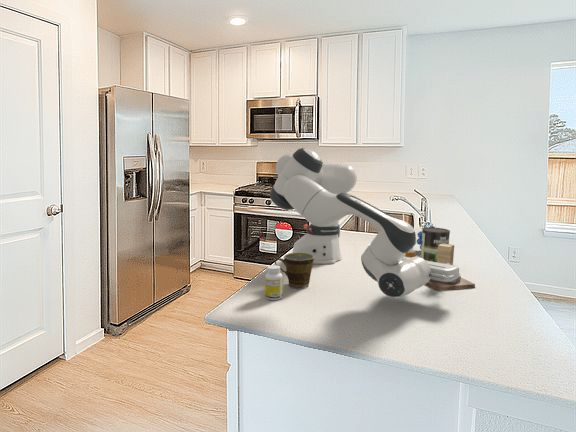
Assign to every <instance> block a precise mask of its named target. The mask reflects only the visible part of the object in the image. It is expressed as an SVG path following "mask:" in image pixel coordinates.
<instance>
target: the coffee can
mask: <svg viewBox="0 0 576 432" xmlns="http://www.w3.org/2000/svg"><path fill="white" fill-rule="evenodd" d="M422 228H423V227H422ZM421 231H422V249H420V251H421V253H420V258H422V259H424V260H426V261H432V262H437V257H438V245H440V244H442V243H444V244H450V233H451V230H450V229H447V228H443V227H442V228H441V227H435V228H429V227H428V228H423V229H421Z"/></svg>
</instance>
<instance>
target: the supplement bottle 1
mask: <svg viewBox="0 0 576 432" xmlns="http://www.w3.org/2000/svg"><path fill="white" fill-rule="evenodd" d="M280 268H281V266H280V265H275V264H274V265H272V264H271V265H268V266H267V268H266V271H267V273H265V275H264V287H265V290H264V296H265V299H266V300H269V301H277V300H278V301H279V300H281V299H283V297H284V296H283V295H284V294H283V293H284V290H283V289H284V285H283V284H284V283H283V282H284V281H283V280H284V278H283V274H282V273H281V269H280Z"/></svg>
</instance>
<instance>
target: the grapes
mask: <svg viewBox="0 0 576 432" xmlns="http://www.w3.org/2000/svg"><path fill="white" fill-rule="evenodd" d="M423 228H436V226H435V225H430V226H423V227H422V229H423ZM422 229H421V231H420V230H419V232H418V233H417V237H418V238H416V244H417V245H419V249H420V250H421V249H422Z"/></svg>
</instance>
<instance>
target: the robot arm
mask: <svg viewBox="0 0 576 432" xmlns="http://www.w3.org/2000/svg"><path fill="white" fill-rule="evenodd" d="M275 171H276V172H275V173H276V175H277V176H278V177H277V178H276V180H275V183H274V184H273V185H272V187H271V189H270V192H269V197H270V200H271V202H273V204H274V205H275V206H276V207H278V208H279V209H283V210H285V211H292V210H294V211H296V212H297V213H298V214H299V215H300V216H301V217H302V218H304V219H305V220H306V221H307V222H309V223H310V224H309V225H308V224H307V223H306V224H304V225H303V228H304V229H305V230H306V233H305V234H304V235H303V236H301V237H300V238H299V239H298V240H296V241H294V244H293V248H292V253H307V254H311V255H313V256H314V262H313V265H314V264H315V265H317V264H319V265H321V264H325V265H326V264H327V265H329V264H334V263H336V262H338V261H341V260H342V259H343V257H342V254H341V247H340V239H339V238H340V235H341V227H340V223H339V222H340V220H342V219H343V218H345V217H347V216H350V215H351V216H356V217H358V218H359V219H362V220H363V221H365V222H368V223H369V224H371V225H372V226H374V227H376V228H377V229H378V233H377V234H376V235H375V237H374V238H373V239H372V241H371V242H370V243H369V244H368V246H367V247H366V249H365V250H364V252H363V253H362V254H361V257H360V261H361V265H362V267H363V270H364V271H365V273H366V274H367V275H368V276H369V277H370V278H371V279H372V280H373V281H375V282H377V285H378V288H379V290H380V291H381V292H382V293H383V294H384V295H385V296H388V297H390V298H403V297H405V296H407V295H410V294H412V293H413V292H415V291H416V290H417V289H420V288H421V287H423V286H424V285H427V284H426V283H428V282H429V280H430V279H433V280H438V281H443V282H449V281H453V280H455V279H457V278H458V276H459V273H460V268H459V266H457V265H454V264H453V265H450V263H444V264H443V263H437V262H432V261H426V260H424V259H422V258H421V256H420V257H419V256H415V257H411V258H410V257H404V255H405V254H406V253H407V252H408V251H409V250H410V249H411V248H412V247H413V246H414V247H415V245H416V244H417V236H416V232H415V231H416V230H415V228H414V226H412V225H411V224H410V223H408V222H407V221H405V220H403V219H401V218H398V217H395V216H393V215H391V214H389V213H386V212H385V211H383V210H381V209H379V208H378V207H376V206H374V205H373V204H370V203H369V202H366V201H364V200H363V199H360V198H358V197H357V196H355V195H353V194H350V193H348V192H350V191H352V189H354V187H355V185H356V183H357V181H358V179H357V177H358V176H357V175H358V174H357V173H356V170H355V168H354V167H353V166H351V165H347V164H342V163H323V160H322V159H321V158H320V156H319V154H318V153H316V152H315V151H314V150H312V149H309V148H306V147H302V148H298V149H296V150H295V152H294V153H291V154H290V153H287V154H284V155H282V156H280V157H279V158H278V160H277V162H276V165H275ZM414 247H413V248H414ZM290 253H291V252H290ZM290 253H288V254H290Z"/></svg>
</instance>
